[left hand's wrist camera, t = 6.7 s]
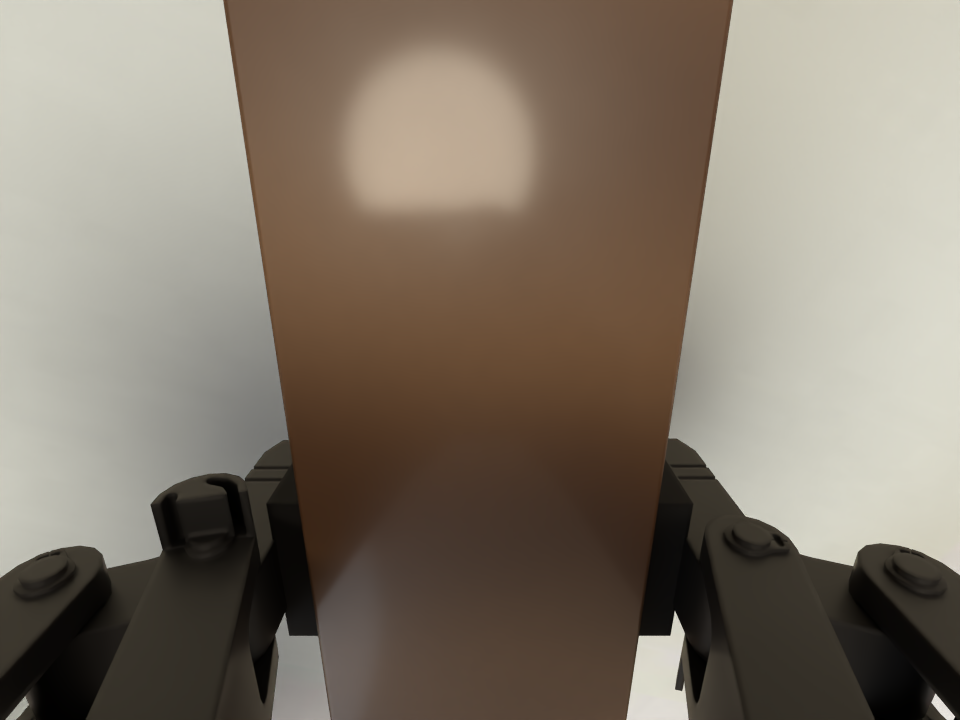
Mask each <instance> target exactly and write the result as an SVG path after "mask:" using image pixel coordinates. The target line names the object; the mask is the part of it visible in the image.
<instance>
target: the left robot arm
mask: <svg viewBox="0 0 960 720" xmlns="http://www.w3.org/2000/svg"><path fill="white" fill-rule="evenodd" d="M151 508H152V512H153V516H154V519H155V523H156V527H157V530H158V534H159V538H160V541H161V545H162V549H163V551H162V553H161V555H160V557H157V558H153V559H149V560H145V561H140V562H136V563H131V564H126V565H122V566H117V567H112V568H108V569H107V568H106V565H105V562H104V558H103V555H102V554H101V553H100V552H99V551H98V550H96V549H95V548H92V547H85V546H74V547H67V548H60V549H56V550H52V551H51V552H46V553H43V554H40V555H38V556H36V557H34V558H32V559H30V560H28V561H26V562H24V563H22V564H20V565H18V566H17V567H15V568H14V569H12V570H11V571H10V572H8V573H7V574H5V575H4V576H3V577H1V578H0V720H5V719H6V718H7V717H8V716H9V714H10V713H11V712H12V711H13V710H14V709H15V707H16V706H17V705H18V704H19V703H20V701H21V700H22V699H23V698H24V697H25V696H26V699H27V701H28V703H29V706H28V707H27V708H26V709H25V711H24V712H23V713H22V714H21V716H20V717H18V718H17V719H16V720H271V718H272V709H273V701H274V692H275V684H276V675H277V667H278V658H279V655H278V648H277V642H276V637H275V634H276V632H277V629H278V627H279V625H280V622H281V620H282V618H283V616H284V613H285V614H286V619H287V625H288V631H289V636H318V630H317V624H316V617H315V610H314V604H313V597H312V590H311V584H310V577H309V570H308V564H307V557H306V550H305V543H304V537H303V530H302V523H301V517H300V510H299V503H298V497H297V490H296V483H295V477H294V470H293V463H292V457H291V450H290V443H289V440H283V441H281V442H280V443H278V444H277V445H275V446H274V447H272V448H271V449H269V450H268V451H266V452H265V453H264V454H263V455H262V457H261V458H260V459H259V461H258V462H257V463H256V465H255V466H254V469H252V470H251V471H250V473H249V474H248V475H247V476H246V478H245V481H244V480H243V479H242V478H240V477H239V476H236V475H231V474H227V473H220V474H207V475H202V476H198V477H193V478H190V479H188V480H185V481H183V482H180V483H178V484H175V485H173V486H172V487H170V488H169V489H167V490H165V491H164V492H162V493H161V494H159V496H158V497H157V498H156V499H155V500H154V501H153V502H152V504H151ZM675 611H676V614H677V616H678V618H679V620H680V623H681V625H682V627H683V630H684V632H685V637H684V642H683V647H682V652H681V658H680V663H679V668H678V674H677V679H676V687H675V689H676V690H680V691H682V689H683V684H684V682H685V691H686V699H687V708H688V716H689V720H946V719H945V718H944V717H943V716H942V715H941V714H940V713H939V712H938V710H937V709H936V708H935V707H934V706H933V704H932V703H931V702H932V700H933V697H934V695H935V693H936V694H937V696H938V697H939V698H940V699H941V700H942V701H943V703H944V704H945V705H946V706H947V707H948V709H949V710H950V711H951V712H952V713H953V714H954V716H955V718H954V720H960V575H959V574H957V573H956V572H954V571H953V570H952V569H950V568H949V567H947V566H946V565H944V564H943V563H941V562H939V561H937V560H935V559H933V558H931V557H929V556H927V555H925V554H923V553H921V552H919V551H916V550H913V549H912V550H911V549H909V548H906V547H901V546H897V545H889V544H881V543H880V544H873V545H866V546H865V547H864V548H862V549H861V550H860V551H859V552H858V554H857V557H856V560H855V563H854V566H849V565H844V564H840V563H835V562H830V561H826V560H821V559H816V558H812V557H808V556H804V555H801V554H799V552H798V550H797V548H796V547H795V545H794V544H793V543H792V541H791V540H790V539H789V538H788V537H787V536H786V535H784V534H783V533H782V532H780V531H779V530H778V529H776V528H775V527H773V526H770V525H768V524H766V523H764V522H762V521H760V520H757V519H753V518H749V517H745V515H744V514H743V513H742V511H741V510H740V509H739V507H738V506H737V505H736V504H735V502H734V501H733V500H732V498H731V497H730V496H729V494H728V493H727V492H726V490H725V489H724V488H723V486H722V485H721V484H720V482H719V481H718V480H715V476H714V475H713V473H712V472H711V471H710V469H709V468H706V464H705V463H704V461H703V460H702V459H701V458H700V456H699V455H698V454H697V452H696V451H695V450H693V449H692V448H690V447H689V446H687V445H686V444H684V443H683V442H681V441H680V440H678V439H668V443H667V449H666V456H665V463H664V469H663V476H662V483H661V490H660V496H659V503H658V510H657V516H656V523H655V530H654V537H653V543H652V550H651V557H650V564H649V570H648V577H647V584H646V590H645V597H644V604H643V611H642V617H641V624H640V631H639V636H670V634H671V629H672V623H673V617H674V612H675Z"/></svg>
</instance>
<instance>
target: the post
mask: <svg viewBox="0 0 960 720" xmlns="http://www.w3.org/2000/svg"><path fill="white" fill-rule="evenodd" d="M223 1H224V8H225V15H226V22H227V28H228V35H229V42H230V48H231V55H232V62H233V68H234V75H235V82H236V88H237V95H238V102H239V109H240V115H241V122H242V129H243V135H244V142H245V149H246V155H247V162H248V169H249V175H250V182H251V189H252V196H253V202H254V209H255V216H256V222H257V229H258V236H259V242H260V249H261V256H262V262H263V269H264V276H265V283H266V289H267V296H268V303H269V309H270V316H271V323H272V329H273V336H274V343H275V349H276V356H277V363H278V370H279V376H280V383H281V390H282V396H283V403H284V410H285V416H286V423H287V430H288V436H289V443H290V450H291V457H292V463H293V470H294V477H295V483H296V490H297V497H298V503H299V510H300V517H301V523H302V530H303V537H304V543H305V550H306V557H307V564H308V570H309V577H310V584H311V590H312V597H313V604H314V610H315V617H316V624H317V630H318V637H319V644H320V651H321V657H322V664H323V671H324V677H325V684H326V691H327V697H328V704H329V711H330V717H331V720H626V718H627V711H628V705H629V698H630V691H631V684H632V678H633V671H634V664H635V658H636V651H637V644H638V637H639V631H640V624H641V617H642V611H643V604H644V597H645V590H646V584H647V577H648V570H649V564H650V557H651V550H652V543H653V537H654V530H655V523H656V516H657V510H658V503H659V496H660V490H661V483H662V476H663V469H664V463H665V456H666V449H667V443H668V436H669V429H670V422H671V416H672V409H673V402H674V395H675V389H676V382H677V375H678V369H679V362H680V355H681V348H682V342H683V335H684V328H685V322H686V315H687V308H688V301H689V295H690V288H691V281H692V274H693V268H694V261H695V254H696V248H697V241H698V234H699V227H700V221H701V214H702V207H703V201H704V194H705V187H706V180H707V174H708V167H709V160H710V153H711V147H712V140H713V133H714V127H715V120H716V113H717V106H718V100H719V93H720V86H721V80H722V73H723V66H724V59H725V53H726V46H727V39H728V33H729V26H730V19H731V12H732V6H733V0H223Z"/></svg>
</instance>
